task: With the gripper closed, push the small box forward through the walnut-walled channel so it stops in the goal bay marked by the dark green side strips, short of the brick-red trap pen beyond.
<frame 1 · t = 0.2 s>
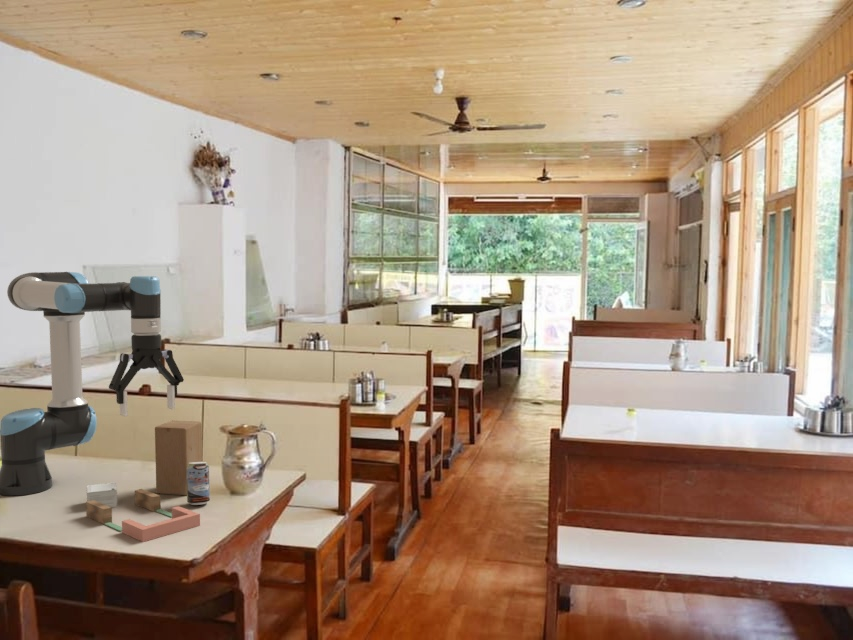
hand: (148, 412, 213), 28 cm above the table, fingers open, 13 cm apart
small box: (102, 505, 222), on the table
beverage can: (198, 504, 222), on the table
trap pen: (159, 528, 202), on the table
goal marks: (141, 520, 208), on the table
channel: (124, 513, 214), on the table
wooden block: (179, 490, 236), on the table
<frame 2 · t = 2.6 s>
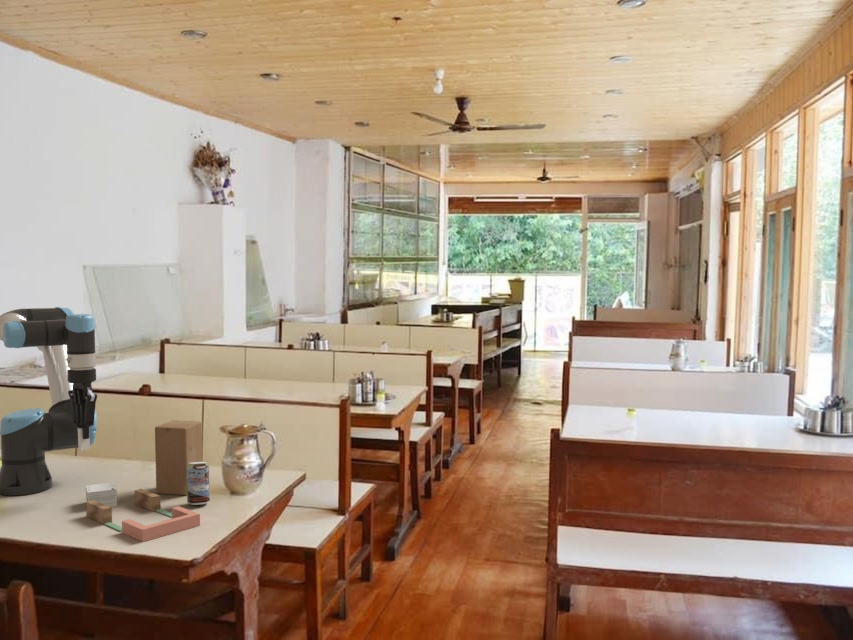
hand: (84, 449, 227), 14 cm above the table, fingers closed
nothing on the table moved.
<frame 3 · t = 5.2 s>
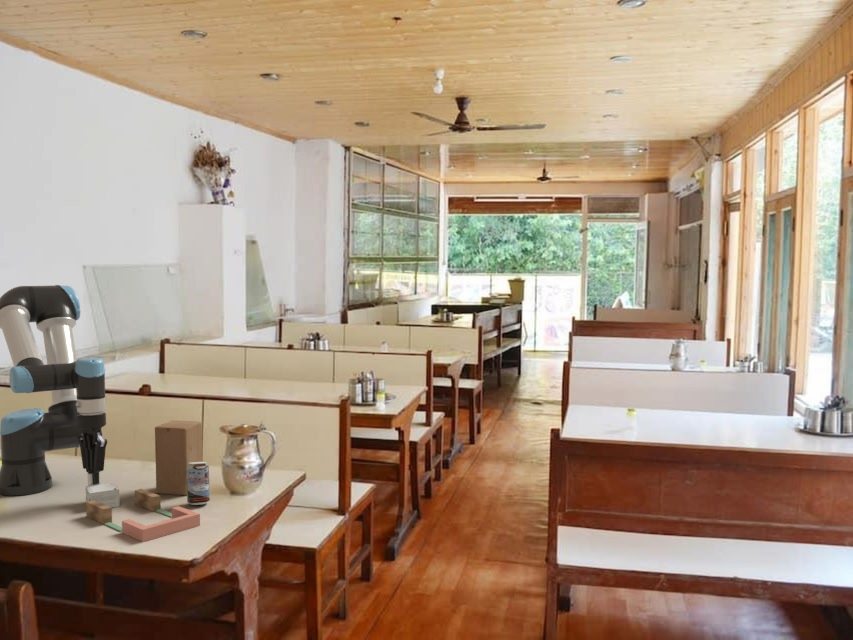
hand: (94, 494, 224), 2 cm above the table, fingers closed
small box: (102, 505, 221), on the table, touching gripper
everything else where it was.
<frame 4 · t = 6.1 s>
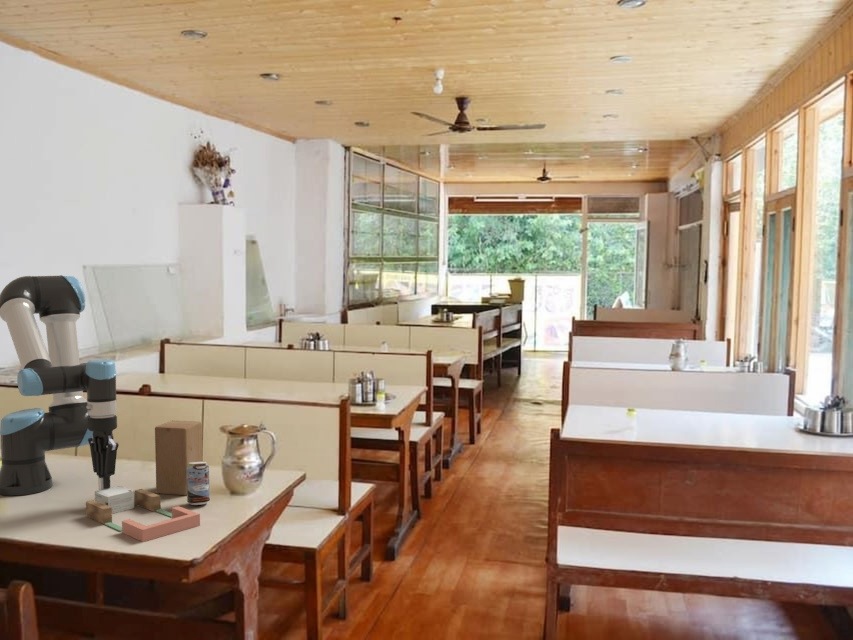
hand: (104, 498, 220), 2 cm above the table, fingers closed
small box: (114, 509, 218), on the table, touching gripper
everything else where it was.
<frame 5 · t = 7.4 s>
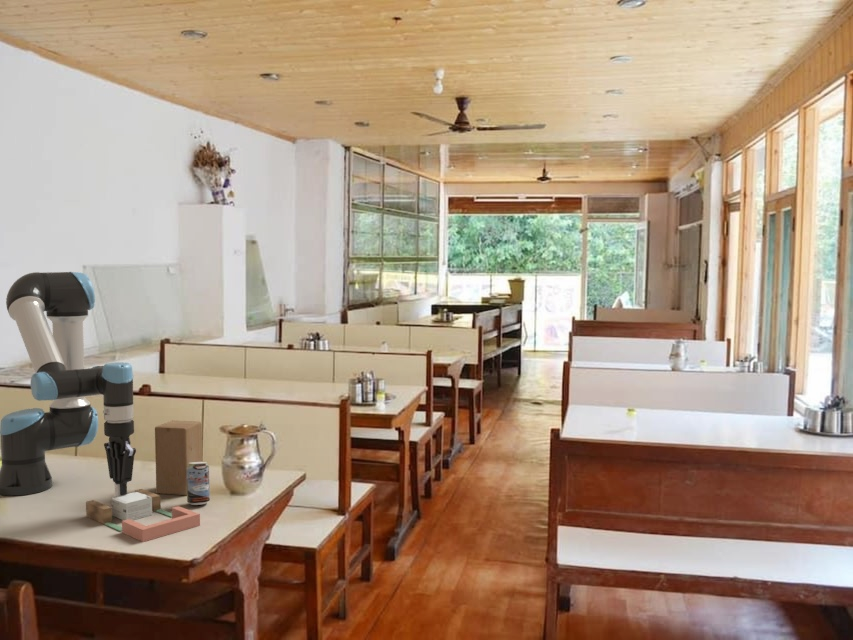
hand: (121, 505, 214), 2 cm above the table, fingers closed
small box: (132, 516, 212), on the table, touching gripper
everything else where it was.
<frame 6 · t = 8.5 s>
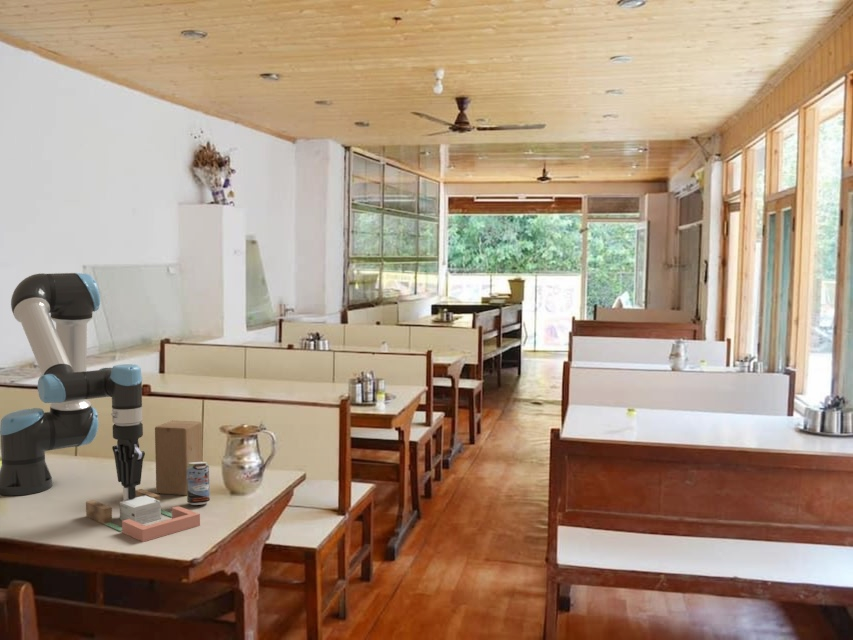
hand: (129, 509, 212), 2 cm above the table, fingers closed
small box: (140, 520, 209), on the table, touching gripper
everything else where it was.
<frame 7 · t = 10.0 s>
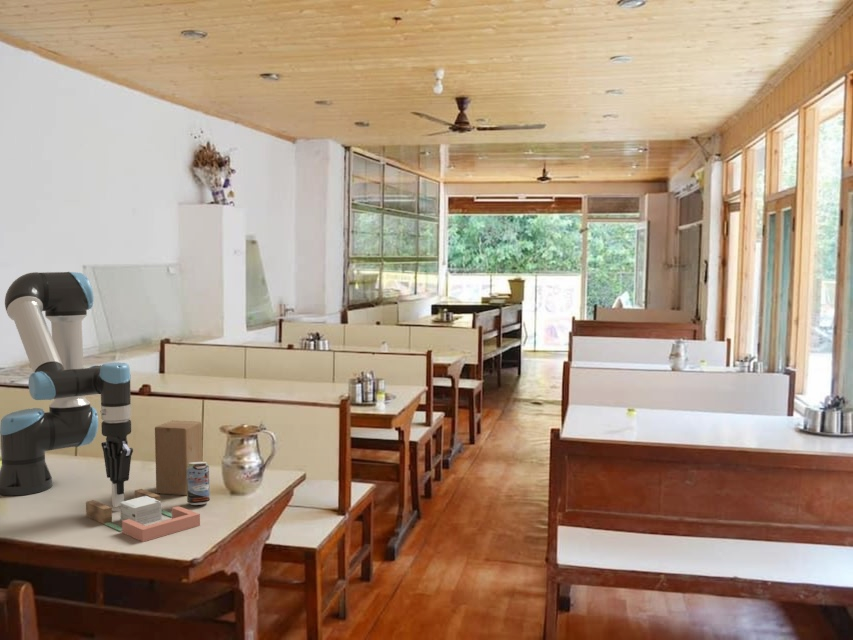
hand: (118, 504, 216), 2 cm above the table, fingers closed
small box: (141, 521, 209), on the table
everything else where it was.
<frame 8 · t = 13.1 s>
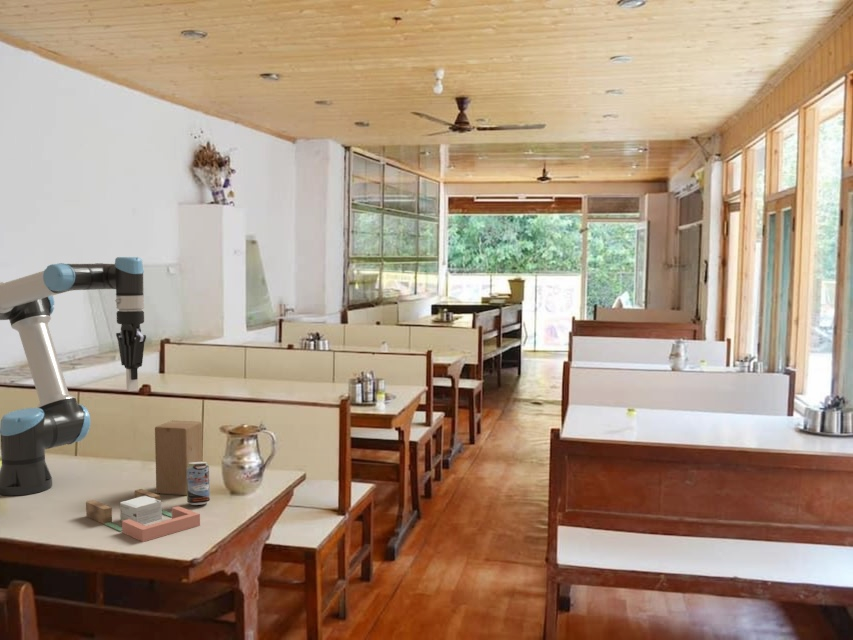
hand: (132, 390, 231), 30 cm above the table, fingers closed
nothing on the table moved.
at the end: small box inside the target area (1.5 cm from its centre), on the table; small box touching table; small box tilted 0° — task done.
